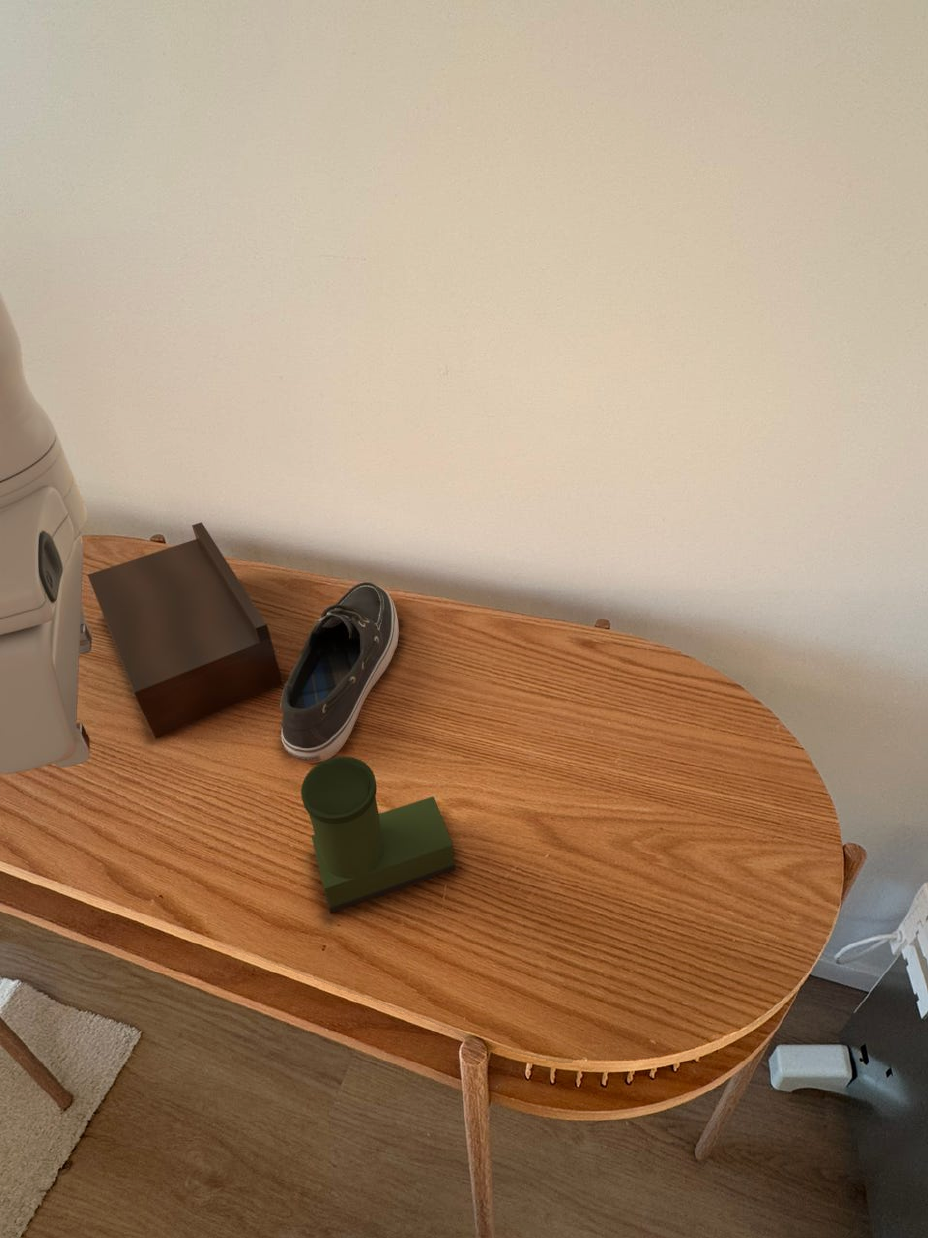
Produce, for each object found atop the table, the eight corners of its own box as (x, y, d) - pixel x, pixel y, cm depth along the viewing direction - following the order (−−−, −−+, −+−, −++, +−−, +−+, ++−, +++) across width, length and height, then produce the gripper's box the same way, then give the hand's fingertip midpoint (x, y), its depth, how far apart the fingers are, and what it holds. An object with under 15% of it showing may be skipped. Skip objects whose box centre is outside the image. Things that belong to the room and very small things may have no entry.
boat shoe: (348, 597, 92) (340, 542, 86) (416, 609, 90) (412, 553, 84) (254, 756, 73) (235, 700, 68) (336, 775, 72) (324, 718, 66)
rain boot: (330, 915, 61) (304, 829, 52) (316, 858, 65) (290, 769, 56) (456, 871, 64) (452, 783, 55) (435, 818, 68) (428, 728, 59)
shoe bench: (155, 738, 75) (127, 678, 69) (107, 619, 89) (80, 560, 83) (283, 684, 81) (267, 623, 75) (219, 579, 95) (201, 522, 89)
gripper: (-59, 424, 42) (33, 606, 51) (-144, 655, 28) (4, 852, 37) (59, 407, 44) (128, 587, 53) (37, 618, 29) (136, 815, 39)
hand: (77, 698), depth 45 cm, fingers open, 8 cm apart
